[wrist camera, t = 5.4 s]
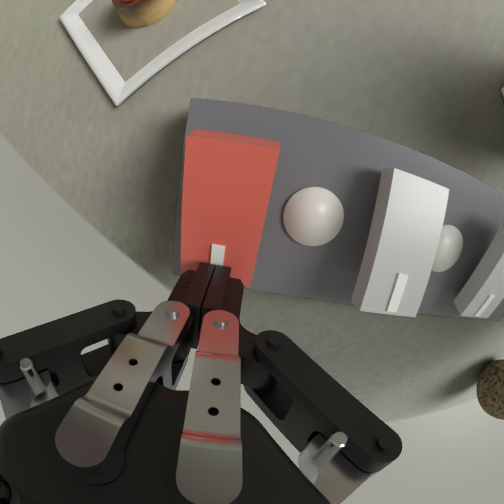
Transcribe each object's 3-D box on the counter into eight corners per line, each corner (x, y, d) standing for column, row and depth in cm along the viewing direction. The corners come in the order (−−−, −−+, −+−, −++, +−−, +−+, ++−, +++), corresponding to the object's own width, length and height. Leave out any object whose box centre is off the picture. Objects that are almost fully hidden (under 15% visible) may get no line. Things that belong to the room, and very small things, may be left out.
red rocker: (279, 141, 11) (279, 150, 10) (252, 269, 15) (250, 288, 14) (196, 128, 11) (185, 136, 10) (187, 257, 15) (180, 275, 14)
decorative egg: (477, 358, 24) (508, 414, 15) (511, 341, 23) (543, 388, 14) (462, 390, 27) (486, 441, 18) (495, 373, 26) (521, 419, 17)
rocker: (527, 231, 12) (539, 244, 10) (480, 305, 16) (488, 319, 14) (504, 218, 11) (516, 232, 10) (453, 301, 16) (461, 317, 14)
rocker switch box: (516, 206, 16) (545, 222, 13) (480, 298, 21) (501, 322, 17) (207, 104, 16) (189, 97, 12) (188, 246, 20) (171, 275, 16)
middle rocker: (434, 188, 13) (450, 189, 11) (404, 307, 14) (416, 318, 13) (381, 169, 13) (395, 167, 11) (351, 300, 14) (360, 311, 13)
